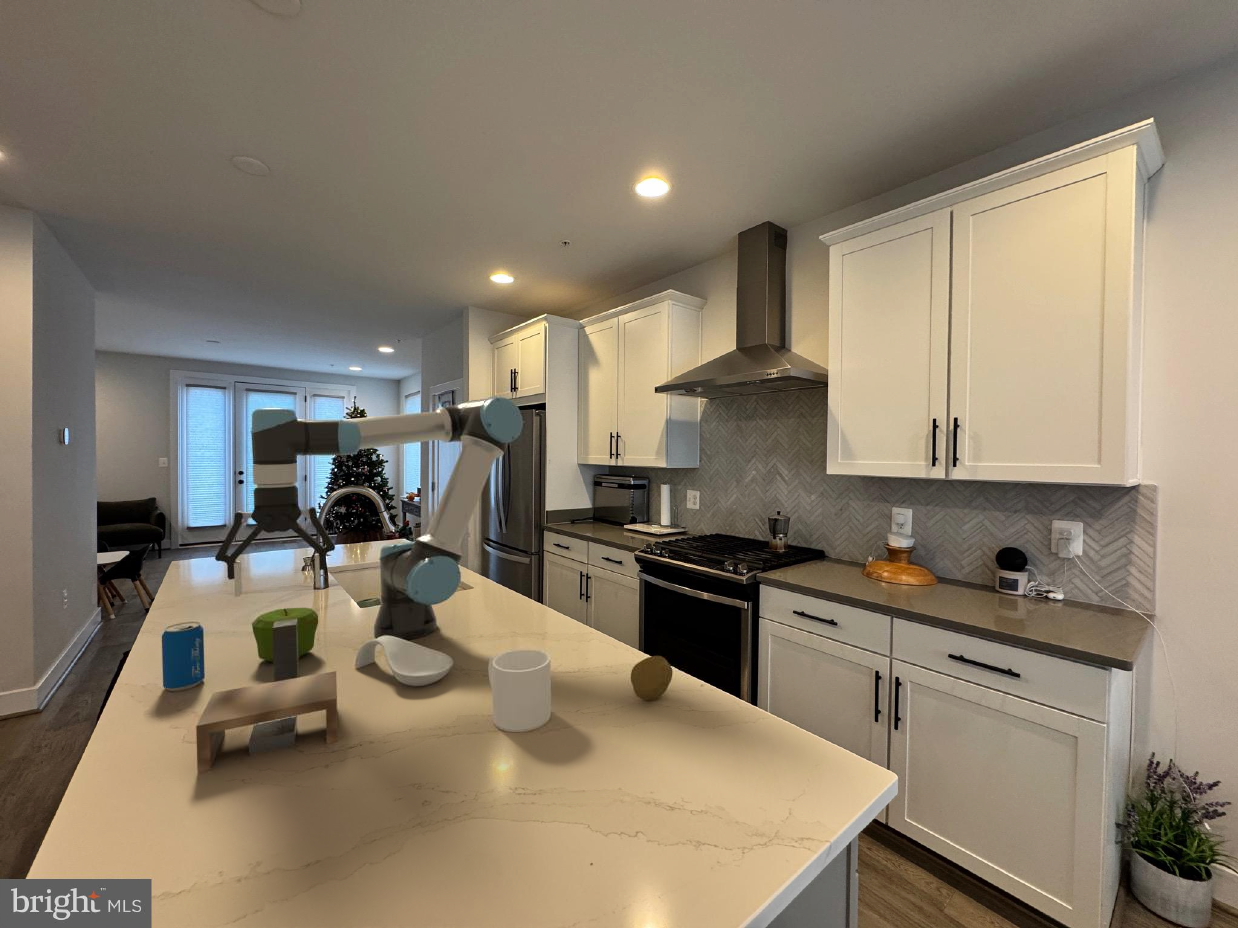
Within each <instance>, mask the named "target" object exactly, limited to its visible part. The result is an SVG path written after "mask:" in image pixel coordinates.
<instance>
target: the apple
mask: <svg viewBox="0 0 1238 928" xmlns="http://www.w3.org/2000/svg"><path fill="white" fill-rule="evenodd" d="M294 619H298V659H299V658H301V657H302V656H304V655H306V654H307V653H309V652H310V651H312V649H313V648H314V647H315V636H316V632H317V628H318V624H319V615H318V613H317V612H316V611H315V610H313V609H312V608H309V607H287V608H278V609H274V610H271V611H267V612H265V613H263V614H260V615H259V616H258V617H256V619H254V620H253V621H252V623H251V626H252V633H253V636H254V639H255V642H256V645H257V647H256V648H257V656H258V658H259V659H261V660H264V661H267V662H271V663H273V625H274V622H279V621H286V620H294Z"/></svg>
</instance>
